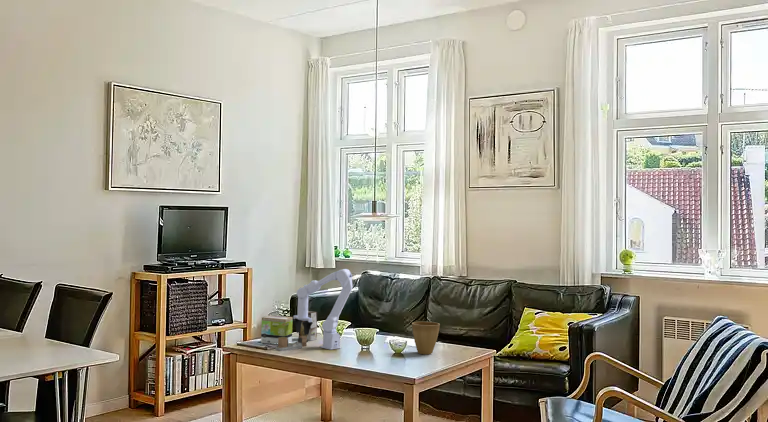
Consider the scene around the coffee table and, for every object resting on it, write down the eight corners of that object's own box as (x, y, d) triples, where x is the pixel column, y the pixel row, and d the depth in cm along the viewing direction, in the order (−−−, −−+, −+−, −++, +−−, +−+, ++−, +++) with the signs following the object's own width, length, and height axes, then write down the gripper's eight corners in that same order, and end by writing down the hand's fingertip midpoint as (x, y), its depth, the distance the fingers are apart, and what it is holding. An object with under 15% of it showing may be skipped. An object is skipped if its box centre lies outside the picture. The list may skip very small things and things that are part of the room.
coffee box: (317, 339, 408) (317, 311, 408) (310, 341, 403) (311, 313, 403) (305, 337, 413) (305, 310, 413) (298, 339, 408) (298, 311, 408)
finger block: (306, 346, 387) (306, 337, 387) (301, 346, 384) (301, 337, 384) (302, 345, 389) (302, 336, 389) (297, 345, 387) (297, 336, 387)
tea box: (260, 343, 392) (261, 317, 392) (268, 340, 401) (269, 314, 401) (284, 345, 387) (285, 318, 387) (292, 342, 397) (293, 316, 397)
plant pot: (437, 356, 364) (438, 325, 364) (409, 355, 367) (409, 324, 367) (440, 351, 379) (441, 322, 379) (413, 350, 382) (414, 320, 382)
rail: (302, 348, 380) (302, 336, 380) (280, 351, 370) (280, 338, 370) (296, 346, 384) (296, 334, 384) (275, 349, 374) (275, 337, 374)
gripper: (289, 308, 389) (288, 332, 389) (304, 311, 379) (304, 336, 379) (299, 307, 394) (298, 331, 394) (315, 310, 384) (314, 334, 383)
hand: (302, 333), depth 387 cm, fingers open, 7 cm apart
